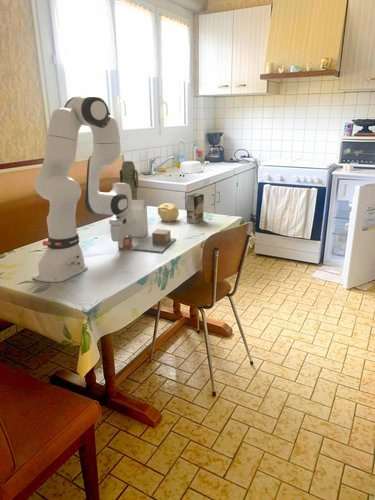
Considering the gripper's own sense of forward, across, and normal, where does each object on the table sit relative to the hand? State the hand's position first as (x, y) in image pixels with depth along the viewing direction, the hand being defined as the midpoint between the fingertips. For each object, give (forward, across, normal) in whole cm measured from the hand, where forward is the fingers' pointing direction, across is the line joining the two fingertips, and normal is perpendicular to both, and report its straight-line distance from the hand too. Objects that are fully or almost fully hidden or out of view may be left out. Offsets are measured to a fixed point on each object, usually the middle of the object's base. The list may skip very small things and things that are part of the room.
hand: (125, 244), depth 181 cm
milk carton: (+2, -21, -2) cm, 21 cm away
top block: (+2, 0, 0) cm, 2 cm away
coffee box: (+2, -55, +19) cm, 58 cm away
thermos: (+2, -49, -20) cm, 53 cm away
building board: (+2, -8, +12) cm, 14 cm away
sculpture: (+2, -53, +3) cm, 53 cm away
